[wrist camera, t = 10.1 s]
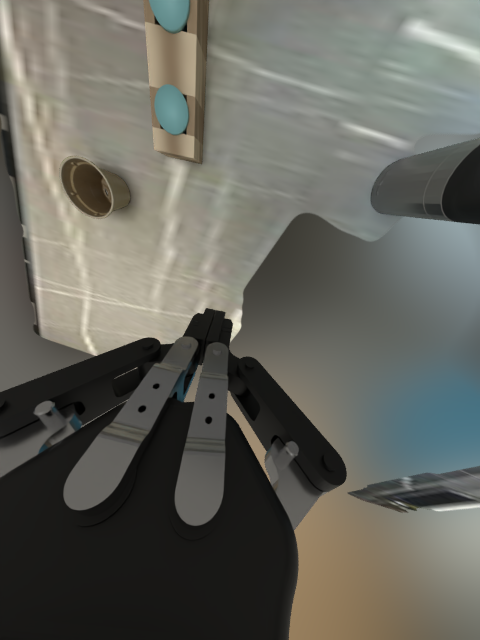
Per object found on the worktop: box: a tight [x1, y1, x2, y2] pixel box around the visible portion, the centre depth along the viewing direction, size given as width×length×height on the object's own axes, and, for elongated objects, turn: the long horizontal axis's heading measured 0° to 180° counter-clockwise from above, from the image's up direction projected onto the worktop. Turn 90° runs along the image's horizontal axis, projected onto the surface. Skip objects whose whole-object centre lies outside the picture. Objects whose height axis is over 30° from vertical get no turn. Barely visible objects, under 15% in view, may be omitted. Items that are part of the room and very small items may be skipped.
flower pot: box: [59, 156, 130, 219], centre depth 37 cm, size 9×9×9 cm
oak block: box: [143, 0, 209, 164], centre depth 28 cm, size 7×20×6 cm, turn 170°
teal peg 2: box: [154, 84, 189, 135], centre depth 31 cm, size 5×5×7 cm
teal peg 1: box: [149, 0, 190, 34], centre depth 25 cm, size 5×5×7 cm
